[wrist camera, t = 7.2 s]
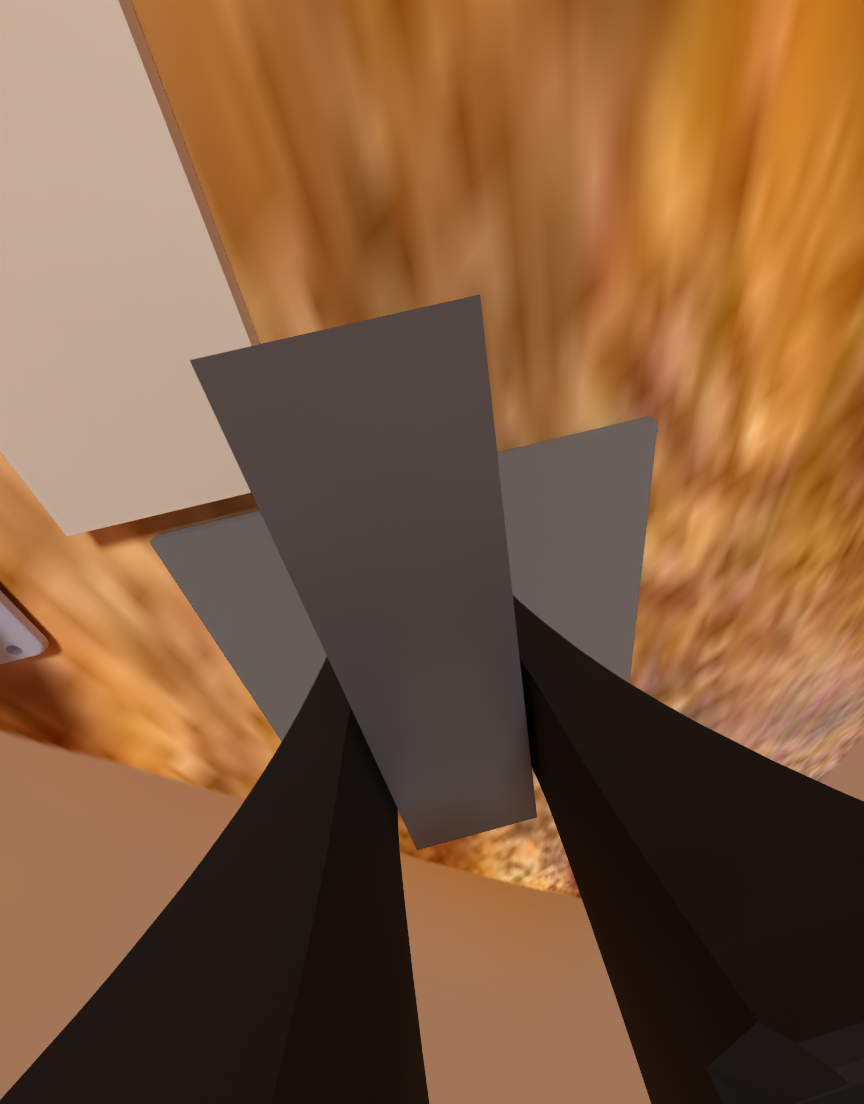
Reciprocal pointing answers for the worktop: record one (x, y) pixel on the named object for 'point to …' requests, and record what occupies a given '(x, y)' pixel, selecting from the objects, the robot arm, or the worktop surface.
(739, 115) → the worktop surface
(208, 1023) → the robot arm
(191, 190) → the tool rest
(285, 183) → the worktop surface
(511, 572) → the mat
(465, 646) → the grey bar
